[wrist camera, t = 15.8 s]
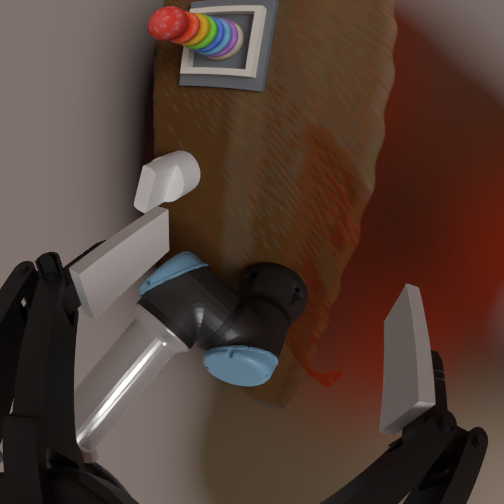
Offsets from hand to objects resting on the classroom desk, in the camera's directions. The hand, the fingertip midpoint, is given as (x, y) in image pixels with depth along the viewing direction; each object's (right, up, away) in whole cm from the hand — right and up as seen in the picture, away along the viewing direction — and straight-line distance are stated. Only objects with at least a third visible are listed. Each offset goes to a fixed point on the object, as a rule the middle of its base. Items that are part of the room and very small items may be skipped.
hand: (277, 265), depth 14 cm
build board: (-6, +37, +23) cm, 44 cm away
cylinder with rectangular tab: (-16, +17, +40) cm, 46 cm away
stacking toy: (-6, +37, +22) cm, 43 cm away
